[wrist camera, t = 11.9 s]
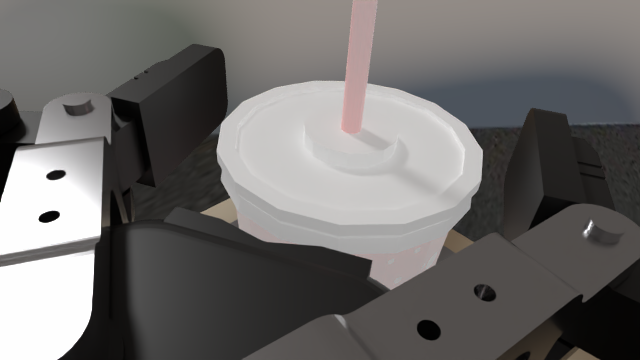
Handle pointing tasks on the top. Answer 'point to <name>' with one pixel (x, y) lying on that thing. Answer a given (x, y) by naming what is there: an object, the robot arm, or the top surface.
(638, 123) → the top surface
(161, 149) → the robot arm
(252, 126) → the beverage cup
